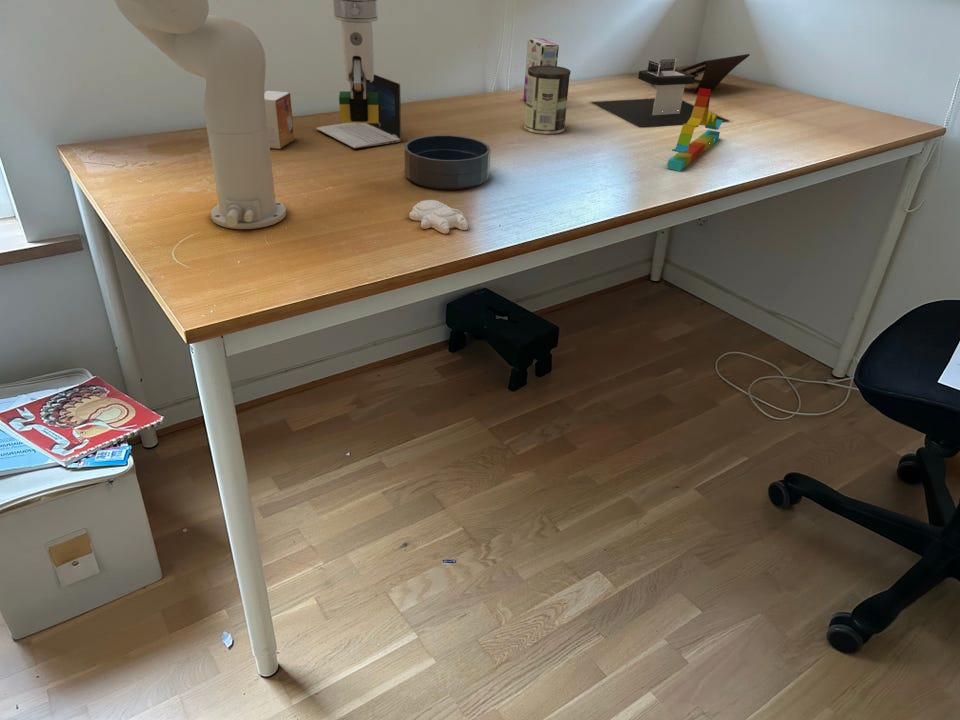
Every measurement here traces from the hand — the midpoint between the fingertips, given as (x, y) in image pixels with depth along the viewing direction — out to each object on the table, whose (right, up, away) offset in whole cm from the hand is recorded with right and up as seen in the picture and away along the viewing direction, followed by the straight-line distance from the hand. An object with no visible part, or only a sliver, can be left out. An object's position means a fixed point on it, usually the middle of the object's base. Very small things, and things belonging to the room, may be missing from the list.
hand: (359, 116), depth 137 cm
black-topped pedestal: (+72, +23, +66) cm, 101 cm away
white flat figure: (+15, -21, -7) cm, 27 cm away
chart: (+73, +3, +35) cm, 81 cm away
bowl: (+16, -8, +14) cm, 22 cm away
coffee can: (+39, +12, +47) cm, 62 cm away
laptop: (-6, +7, +35) cm, 36 cm away
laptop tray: (+89, +40, +94) cm, 136 cm away
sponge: (0, 0, 0) cm, 1 cm away
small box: (-23, +3, +27) cm, 36 cm away
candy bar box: (+39, +25, +67) cm, 82 cm away
